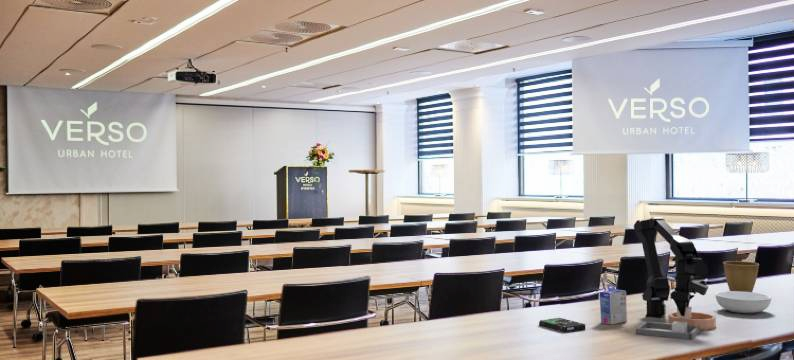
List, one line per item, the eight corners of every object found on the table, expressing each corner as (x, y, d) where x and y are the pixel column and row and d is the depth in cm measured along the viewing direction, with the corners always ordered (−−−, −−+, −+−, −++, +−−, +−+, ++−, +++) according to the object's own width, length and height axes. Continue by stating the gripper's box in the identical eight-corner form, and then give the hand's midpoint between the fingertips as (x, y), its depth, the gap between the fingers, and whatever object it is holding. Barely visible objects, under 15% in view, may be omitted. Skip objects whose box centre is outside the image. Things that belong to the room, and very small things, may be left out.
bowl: (664, 326, 272) (664, 317, 272) (674, 319, 285) (673, 310, 285) (711, 331, 263) (711, 321, 263) (718, 323, 277) (718, 314, 277)
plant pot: (720, 298, 332) (720, 263, 332) (727, 294, 344) (726, 260, 344) (756, 301, 324) (756, 265, 324) (761, 296, 336) (761, 262, 336)
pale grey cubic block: (671, 334, 259) (671, 323, 259) (674, 332, 262) (674, 321, 262) (684, 335, 256) (684, 324, 256) (687, 333, 260) (687, 322, 260)
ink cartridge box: (616, 319, 286) (615, 283, 286) (627, 321, 281) (627, 284, 281) (599, 322, 280) (599, 285, 280) (610, 325, 276) (610, 287, 276)
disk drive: (586, 331, 268) (559, 324, 281) (586, 324, 268) (559, 316, 281) (564, 334, 263) (538, 326, 276) (564, 327, 263) (538, 319, 276)
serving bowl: (716, 314, 294) (716, 297, 294) (714, 306, 314) (714, 290, 314) (773, 317, 287) (773, 300, 287) (768, 308, 306) (768, 292, 306)
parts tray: (635, 333, 260) (635, 328, 260) (645, 326, 273) (645, 321, 273) (692, 339, 250) (691, 334, 250) (699, 331, 263) (699, 326, 263)
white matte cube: (677, 318, 275) (676, 307, 275) (679, 316, 279) (679, 305, 279) (689, 319, 273) (689, 308, 272) (691, 317, 276) (691, 306, 276)
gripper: (702, 278, 263) (702, 321, 263) (710, 272, 279) (710, 312, 279) (669, 276, 269) (670, 318, 269) (680, 270, 285) (680, 310, 285)
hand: (684, 315), depth 276 cm, fingers closed on white matte cube, 4 cm apart
